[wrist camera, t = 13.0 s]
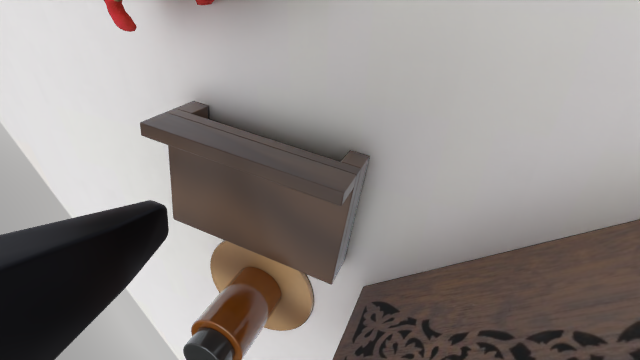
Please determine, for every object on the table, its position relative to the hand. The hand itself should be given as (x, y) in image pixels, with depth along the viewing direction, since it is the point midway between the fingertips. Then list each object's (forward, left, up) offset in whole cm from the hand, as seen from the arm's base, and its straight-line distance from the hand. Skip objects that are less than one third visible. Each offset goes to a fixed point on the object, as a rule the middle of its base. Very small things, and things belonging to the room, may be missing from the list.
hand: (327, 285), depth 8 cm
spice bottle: (-17, +8, -13) cm, 22 cm away
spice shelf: (-7, +8, -13) cm, 17 cm away
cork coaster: (-17, +8, -13) cm, 22 cm away
